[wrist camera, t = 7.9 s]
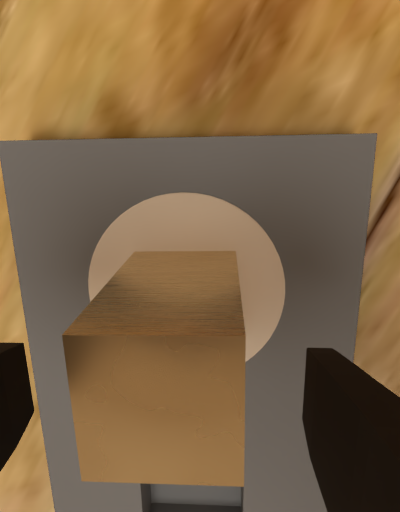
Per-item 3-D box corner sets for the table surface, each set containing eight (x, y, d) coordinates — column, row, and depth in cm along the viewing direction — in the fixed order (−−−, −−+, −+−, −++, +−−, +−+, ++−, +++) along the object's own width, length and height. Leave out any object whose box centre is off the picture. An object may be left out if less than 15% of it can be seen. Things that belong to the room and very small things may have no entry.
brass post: (235, 250, 15) (245, 336, 8) (235, 343, 16) (244, 486, 9) (134, 251, 15) (61, 335, 8) (140, 342, 16) (81, 481, 9)
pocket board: (353, 135, 16) (379, 133, 13) (316, 561, 22) (328, 615, 20) (29, 142, 17) (-6, 140, 14) (84, 549, 23) (66, 600, 21)
